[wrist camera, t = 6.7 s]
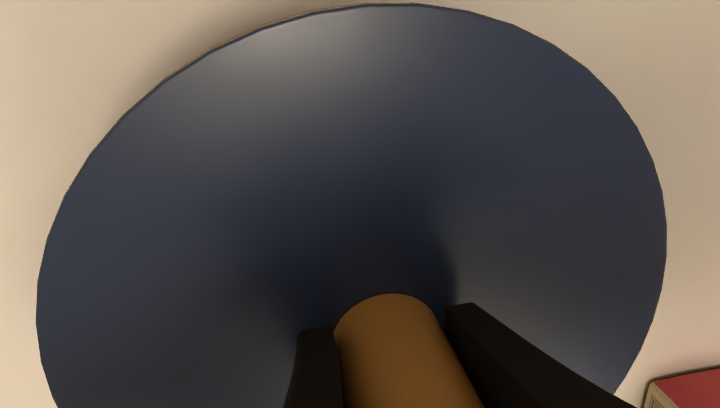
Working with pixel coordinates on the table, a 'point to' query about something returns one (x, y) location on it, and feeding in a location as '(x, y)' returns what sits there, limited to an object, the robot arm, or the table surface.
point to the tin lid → (352, 217)
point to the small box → (686, 391)
